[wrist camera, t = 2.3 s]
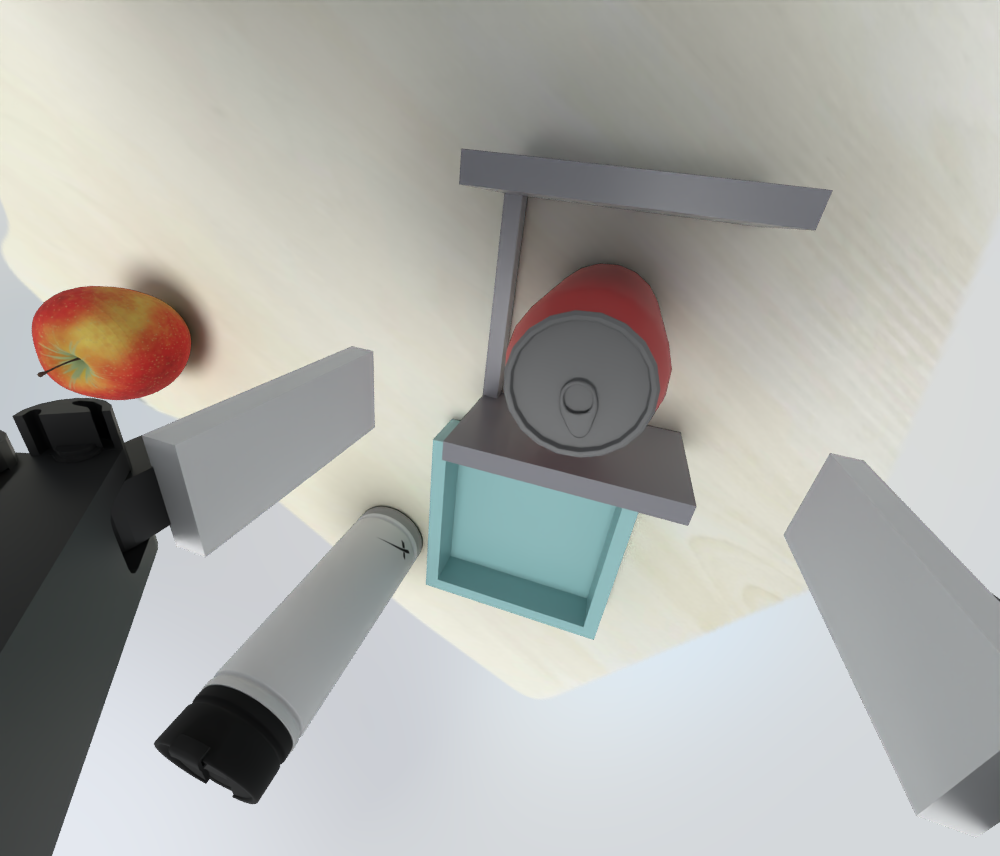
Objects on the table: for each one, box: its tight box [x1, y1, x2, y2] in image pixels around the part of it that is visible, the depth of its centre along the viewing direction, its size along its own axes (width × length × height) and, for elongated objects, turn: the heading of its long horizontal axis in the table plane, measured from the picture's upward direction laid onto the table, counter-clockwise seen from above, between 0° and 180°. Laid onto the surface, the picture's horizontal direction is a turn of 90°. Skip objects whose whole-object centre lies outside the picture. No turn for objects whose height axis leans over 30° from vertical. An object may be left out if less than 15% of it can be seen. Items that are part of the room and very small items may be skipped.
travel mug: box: [154, 507, 422, 804], centre depth 30 cm, size 6×7×20 cm
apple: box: [32, 286, 191, 400], centre depth 31 cm, size 8×8×10 cm
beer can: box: [503, 264, 672, 458], centre depth 20 cm, size 7×7×12 cm
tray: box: [426, 419, 638, 640], centre depth 32 cm, size 14×14×3 cm
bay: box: [442, 149, 833, 526], centre depth 22 cm, size 14×13×8 cm
